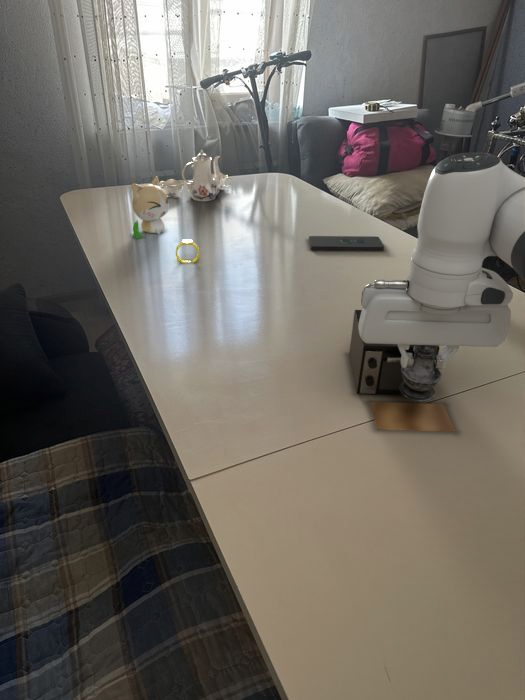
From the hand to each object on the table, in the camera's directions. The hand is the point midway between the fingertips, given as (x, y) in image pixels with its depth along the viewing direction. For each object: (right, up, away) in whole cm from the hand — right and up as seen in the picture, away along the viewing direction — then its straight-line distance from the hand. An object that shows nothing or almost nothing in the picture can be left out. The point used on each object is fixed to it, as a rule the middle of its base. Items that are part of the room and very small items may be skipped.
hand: (422, 366), depth 76 cm
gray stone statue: (0, -4, +3) cm, 5 cm away
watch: (-43, +25, +57) cm, 75 cm away
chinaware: (-46, +57, +106) cm, 129 cm away
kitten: (-56, +37, +75) cm, 101 cm away
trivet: (0, -8, +5) cm, 10 cm away
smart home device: (-1, +31, +67) cm, 74 cm away
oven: (-2, -2, +15) cm, 15 cm away
